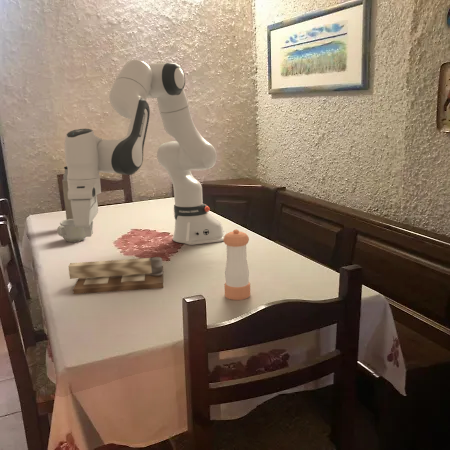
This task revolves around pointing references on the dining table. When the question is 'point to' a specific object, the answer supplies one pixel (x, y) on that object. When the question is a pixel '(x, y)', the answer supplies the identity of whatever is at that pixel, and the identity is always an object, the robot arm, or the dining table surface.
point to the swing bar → (115, 267)
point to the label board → (118, 283)
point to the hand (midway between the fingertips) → (89, 235)
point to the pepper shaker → (236, 266)
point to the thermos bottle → (66, 195)
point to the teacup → (70, 231)
